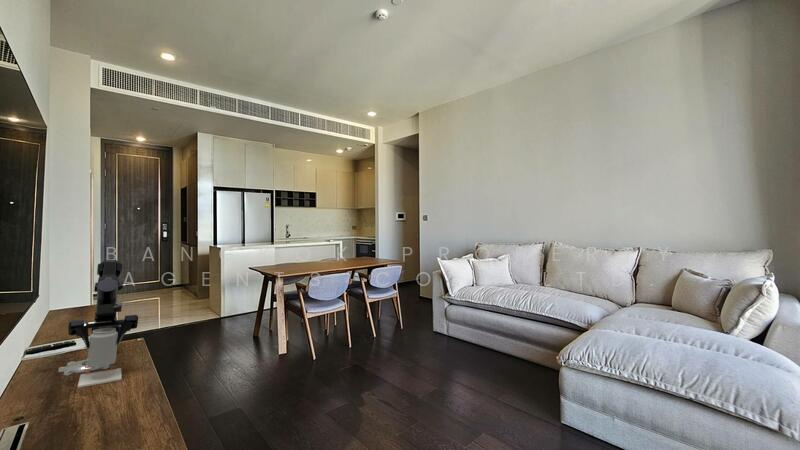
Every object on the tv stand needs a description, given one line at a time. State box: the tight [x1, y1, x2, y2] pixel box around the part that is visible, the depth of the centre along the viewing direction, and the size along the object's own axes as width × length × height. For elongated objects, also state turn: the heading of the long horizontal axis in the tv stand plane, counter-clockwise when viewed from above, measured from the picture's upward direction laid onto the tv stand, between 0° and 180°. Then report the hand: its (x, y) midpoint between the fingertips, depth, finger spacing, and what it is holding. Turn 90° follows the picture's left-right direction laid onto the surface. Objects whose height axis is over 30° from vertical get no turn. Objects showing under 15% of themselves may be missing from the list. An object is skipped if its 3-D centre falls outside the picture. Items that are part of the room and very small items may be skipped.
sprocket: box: [57, 357, 116, 376], centre depth 127 cm, size 16×16×2 cm
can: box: [87, 328, 118, 367], centre depth 118 cm, size 8×8×12 cm
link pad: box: [77, 367, 122, 389], centre depth 118 cm, size 11×11×1 cm
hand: (103, 345), depth 117 cm, fingers closed on can, 7 cm apart
